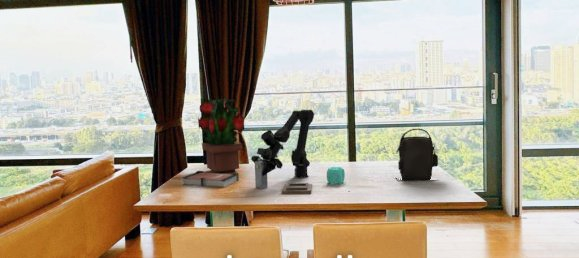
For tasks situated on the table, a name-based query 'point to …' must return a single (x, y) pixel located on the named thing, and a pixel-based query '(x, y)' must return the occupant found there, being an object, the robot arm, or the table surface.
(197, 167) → the table surface
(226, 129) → the potted plant
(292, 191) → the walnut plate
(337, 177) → the decorative dice
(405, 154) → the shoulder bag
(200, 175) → the book
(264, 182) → the block
